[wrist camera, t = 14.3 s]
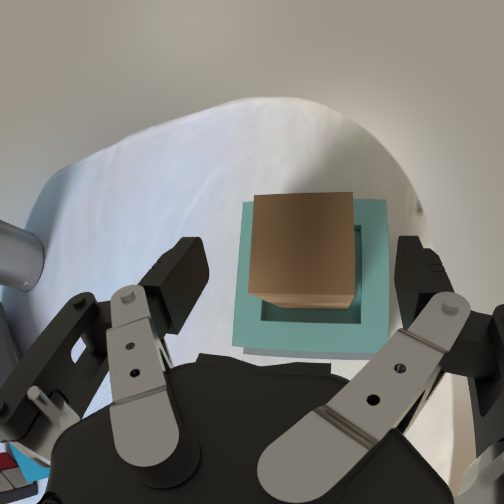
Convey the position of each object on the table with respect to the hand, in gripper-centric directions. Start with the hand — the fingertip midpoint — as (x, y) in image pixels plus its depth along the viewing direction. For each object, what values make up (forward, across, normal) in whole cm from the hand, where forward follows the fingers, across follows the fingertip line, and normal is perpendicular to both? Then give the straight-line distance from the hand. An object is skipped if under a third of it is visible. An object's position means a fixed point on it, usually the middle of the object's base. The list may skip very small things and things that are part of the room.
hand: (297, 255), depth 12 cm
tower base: (+14, 0, +13) cm, 19 cm away
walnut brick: (+7, 0, +6) cm, 9 cm away
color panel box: (-13, +50, +40) cm, 65 cm away
